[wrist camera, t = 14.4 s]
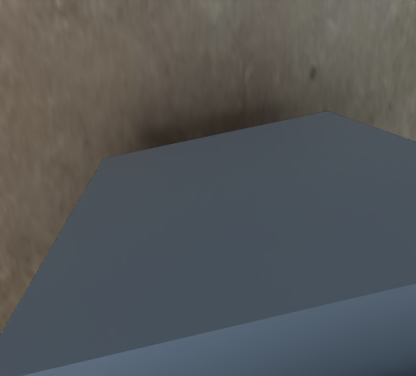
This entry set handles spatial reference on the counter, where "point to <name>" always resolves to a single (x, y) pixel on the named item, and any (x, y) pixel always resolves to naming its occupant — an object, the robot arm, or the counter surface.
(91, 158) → the counter surface
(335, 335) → the slate blue square block
